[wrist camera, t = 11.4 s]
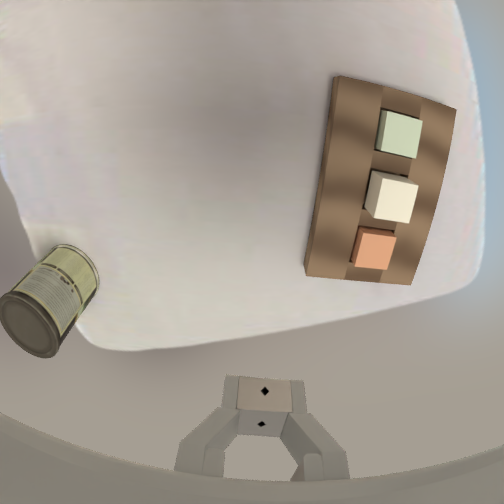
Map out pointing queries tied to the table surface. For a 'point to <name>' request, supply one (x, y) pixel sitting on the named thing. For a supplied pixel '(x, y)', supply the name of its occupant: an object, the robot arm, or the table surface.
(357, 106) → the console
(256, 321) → the table surface
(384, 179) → the cream cube
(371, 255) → the key terracotta
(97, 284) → the coffee can
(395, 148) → the key sage
